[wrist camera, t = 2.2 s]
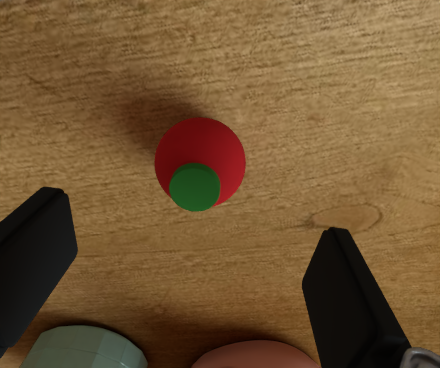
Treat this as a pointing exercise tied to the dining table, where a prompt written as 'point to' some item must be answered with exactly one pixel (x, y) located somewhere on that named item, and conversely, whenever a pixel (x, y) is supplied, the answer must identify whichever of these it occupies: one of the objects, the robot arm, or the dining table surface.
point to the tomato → (199, 163)
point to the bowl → (83, 349)
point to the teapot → (255, 356)
